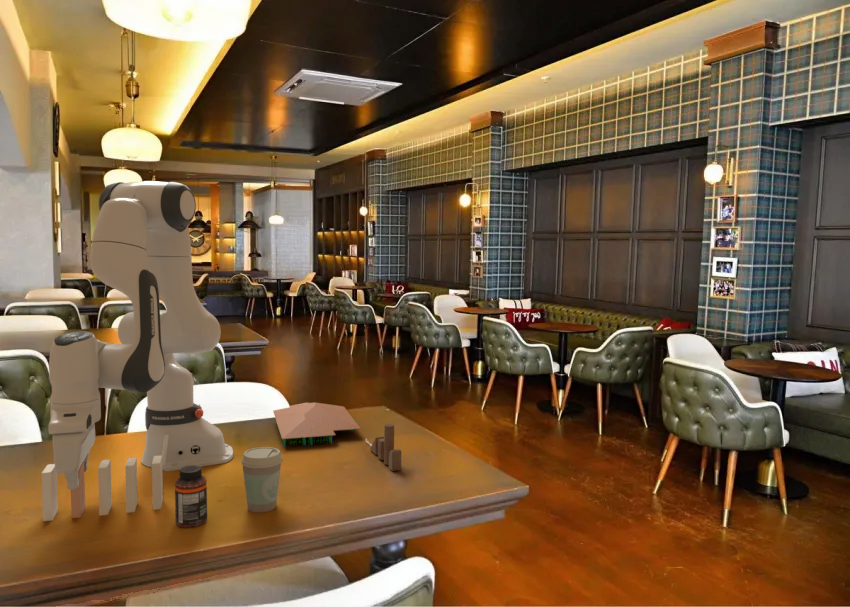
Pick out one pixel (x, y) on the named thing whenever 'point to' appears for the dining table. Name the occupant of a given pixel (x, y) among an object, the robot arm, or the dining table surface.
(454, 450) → the dining table surface
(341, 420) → the house
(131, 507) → the domino
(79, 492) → the domino
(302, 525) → the dining table surface
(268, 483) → the coffee cup
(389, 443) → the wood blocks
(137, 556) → the dining table surface
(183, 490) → the supplement bottle
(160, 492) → the domino
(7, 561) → the dining table surface
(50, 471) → the domino end
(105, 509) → the domino
